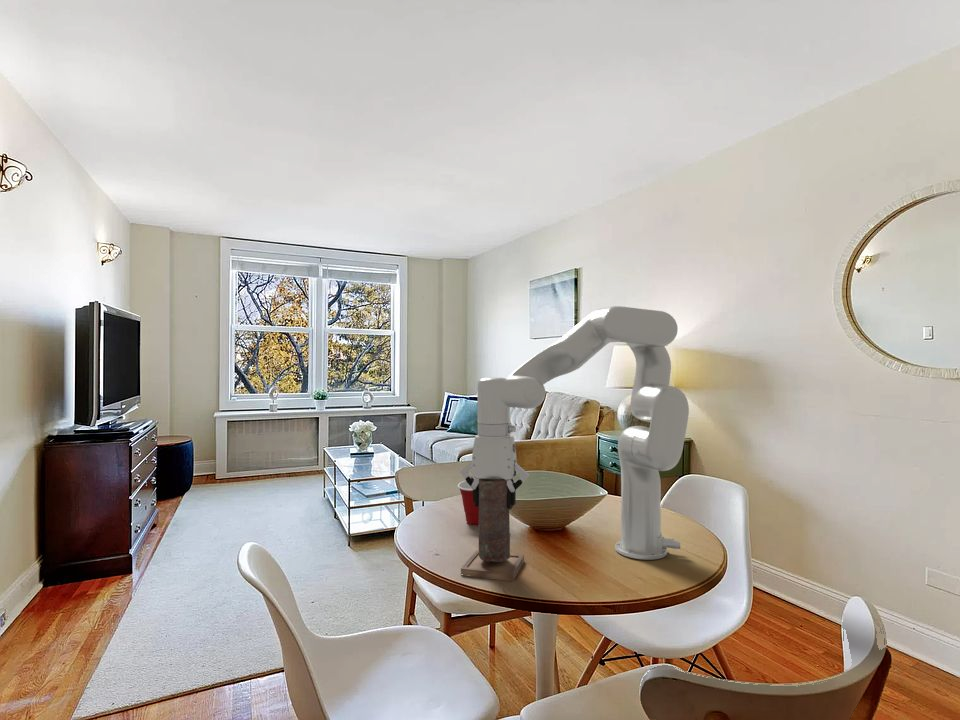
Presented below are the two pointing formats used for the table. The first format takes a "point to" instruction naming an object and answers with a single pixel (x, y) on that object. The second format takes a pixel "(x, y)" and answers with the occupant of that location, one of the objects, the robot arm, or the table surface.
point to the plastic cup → (469, 504)
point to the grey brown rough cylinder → (493, 521)
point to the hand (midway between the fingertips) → (494, 506)
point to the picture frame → (493, 567)
